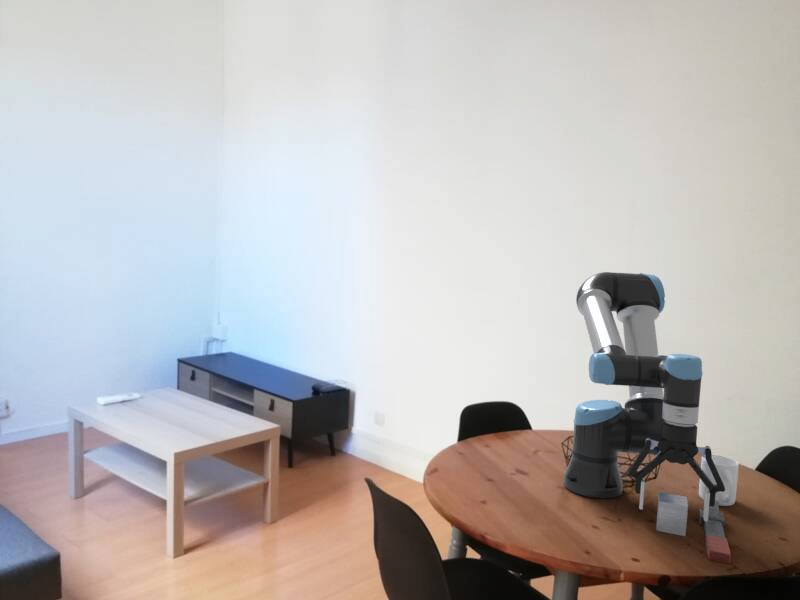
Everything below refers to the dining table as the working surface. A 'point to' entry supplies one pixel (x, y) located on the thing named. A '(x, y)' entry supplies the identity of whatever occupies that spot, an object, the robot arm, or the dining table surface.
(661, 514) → the white ridged cube
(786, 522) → the dining table surface
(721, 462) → the mug
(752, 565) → the dining table surface
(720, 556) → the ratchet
